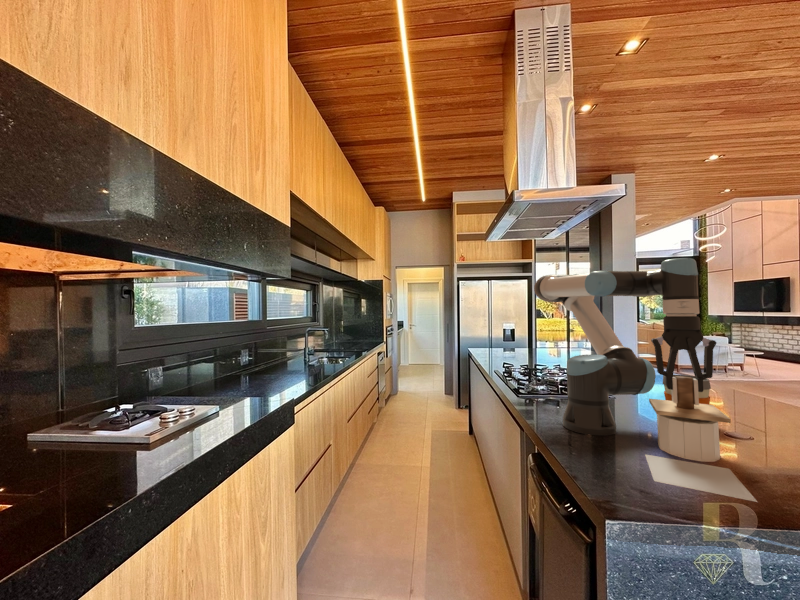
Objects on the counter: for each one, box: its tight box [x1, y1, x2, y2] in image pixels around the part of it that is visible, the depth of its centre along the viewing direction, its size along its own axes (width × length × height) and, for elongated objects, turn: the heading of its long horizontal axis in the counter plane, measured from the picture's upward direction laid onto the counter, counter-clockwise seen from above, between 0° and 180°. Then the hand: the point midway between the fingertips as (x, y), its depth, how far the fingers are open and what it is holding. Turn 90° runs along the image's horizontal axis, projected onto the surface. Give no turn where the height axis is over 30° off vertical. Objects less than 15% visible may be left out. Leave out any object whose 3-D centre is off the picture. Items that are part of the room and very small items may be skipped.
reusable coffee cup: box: [662, 374, 712, 405], centre depth 113 cm, size 13×13×15 cm
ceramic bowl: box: [656, 414, 721, 463], centre depth 87 cm, size 12×12×10 cm
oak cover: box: [648, 376, 732, 424], centre depth 88 cm, size 14×14×9 cm
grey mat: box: [644, 454, 758, 503], centre depth 74 cm, size 16×16×1 cm
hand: (685, 402), depth 88 cm, fingers closed on oak cover, 4 cm apart
